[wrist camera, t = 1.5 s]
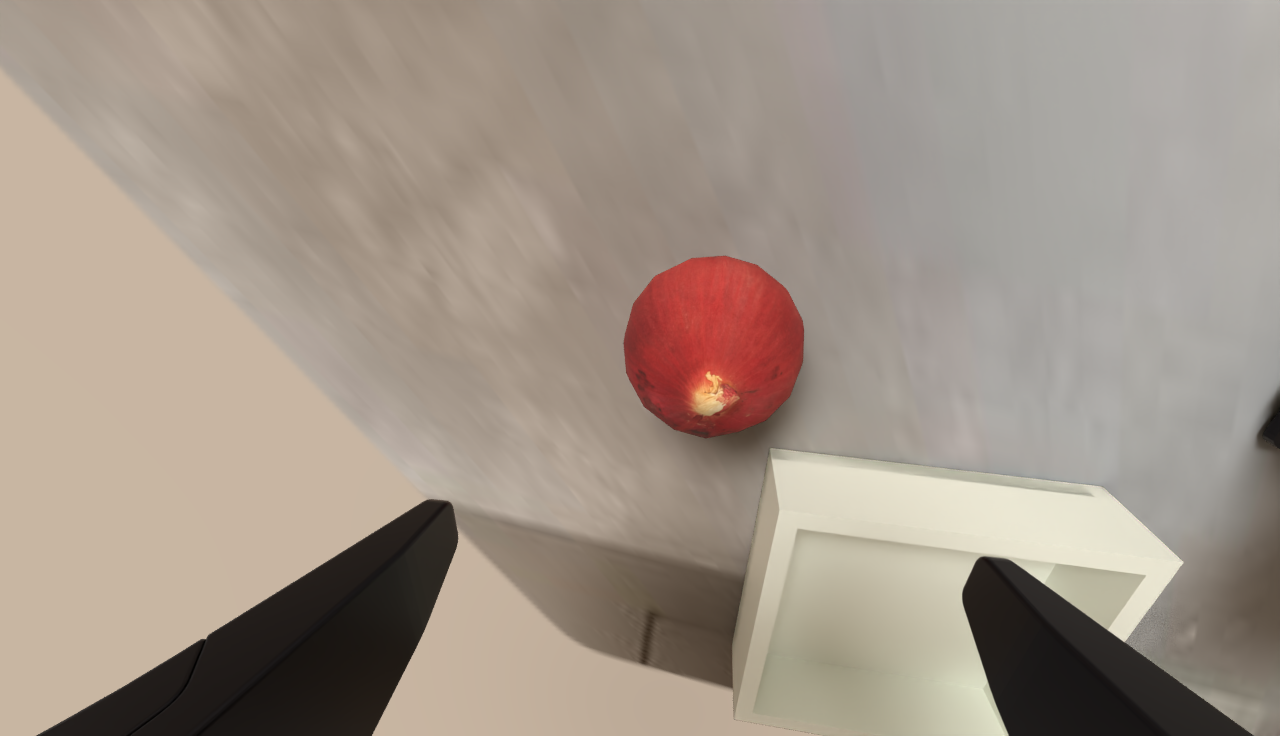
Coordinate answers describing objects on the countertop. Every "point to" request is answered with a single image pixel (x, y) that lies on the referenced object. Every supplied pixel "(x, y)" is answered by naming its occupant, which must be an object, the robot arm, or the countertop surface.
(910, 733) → the bin
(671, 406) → the onion
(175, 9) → the countertop surface
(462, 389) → the countertop surface
